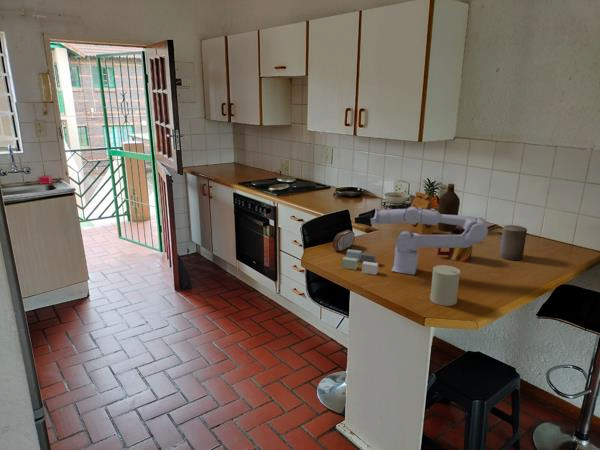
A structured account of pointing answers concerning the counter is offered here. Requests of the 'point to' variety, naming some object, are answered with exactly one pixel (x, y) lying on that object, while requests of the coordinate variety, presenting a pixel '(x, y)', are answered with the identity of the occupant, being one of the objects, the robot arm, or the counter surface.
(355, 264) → the sage brick
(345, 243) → the tin
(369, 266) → the grey brick
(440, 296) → the can
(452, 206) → the olive oil
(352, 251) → the blue brick
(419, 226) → the coffee package
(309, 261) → the counter surface
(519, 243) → the pillar candle
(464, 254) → the mug
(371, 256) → the charcoal brick
